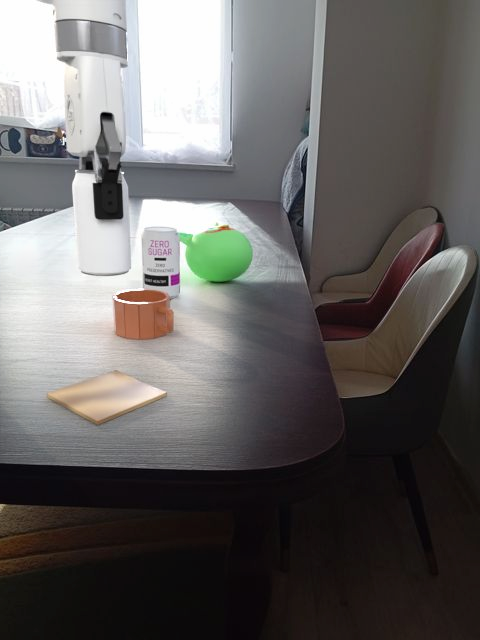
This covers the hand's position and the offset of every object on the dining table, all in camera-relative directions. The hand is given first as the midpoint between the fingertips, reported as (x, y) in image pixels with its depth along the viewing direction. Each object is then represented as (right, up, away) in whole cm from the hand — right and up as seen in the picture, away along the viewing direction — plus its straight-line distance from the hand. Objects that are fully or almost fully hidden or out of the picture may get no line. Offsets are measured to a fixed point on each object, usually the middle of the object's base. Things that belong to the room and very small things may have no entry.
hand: (101, 213), depth 63 cm
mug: (-1, -13, +31) cm, 34 cm away
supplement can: (-4, -4, +55) cm, 55 cm away
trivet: (-1, -23, +6) cm, 24 cm away
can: (0, -7, +3) cm, 7 cm away
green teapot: (+8, +1, +72) cm, 72 cm away
